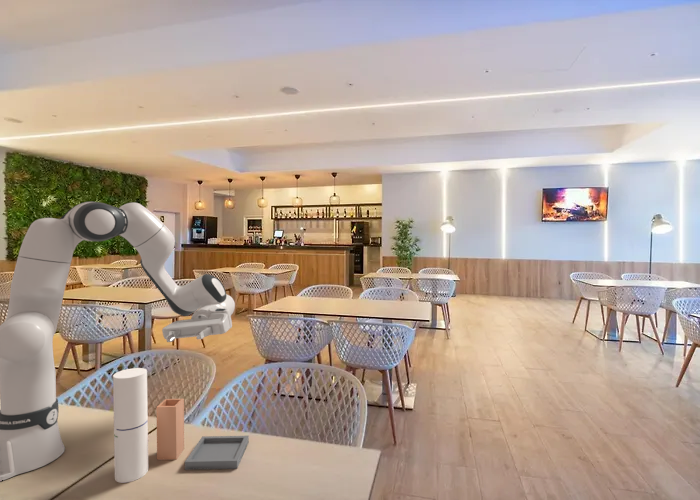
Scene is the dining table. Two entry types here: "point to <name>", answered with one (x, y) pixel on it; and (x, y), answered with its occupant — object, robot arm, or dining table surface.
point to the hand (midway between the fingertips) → (183, 338)
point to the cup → (170, 429)
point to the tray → (217, 452)
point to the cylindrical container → (130, 424)
